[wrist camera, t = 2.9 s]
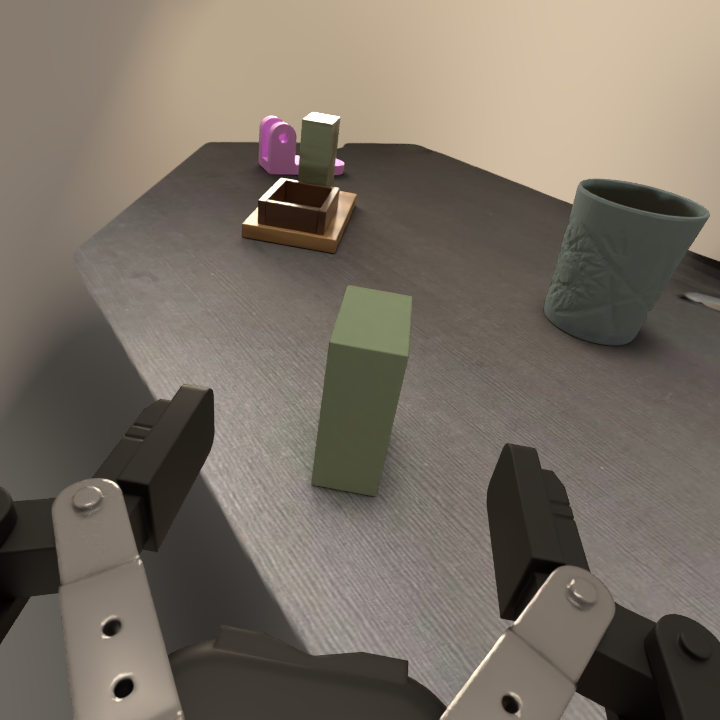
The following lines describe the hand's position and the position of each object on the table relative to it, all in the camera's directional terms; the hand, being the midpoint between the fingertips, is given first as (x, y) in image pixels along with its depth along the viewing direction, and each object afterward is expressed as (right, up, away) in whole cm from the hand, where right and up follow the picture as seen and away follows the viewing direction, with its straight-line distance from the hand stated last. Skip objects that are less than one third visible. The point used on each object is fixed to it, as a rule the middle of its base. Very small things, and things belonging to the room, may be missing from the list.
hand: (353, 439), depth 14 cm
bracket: (-9, +32, +66) cm, 74 cm away
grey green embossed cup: (+22, +6, +35) cm, 41 cm away
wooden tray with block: (-6, +19, +47) cm, 51 cm away
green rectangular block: (0, -3, +16) cm, 16 cm away
